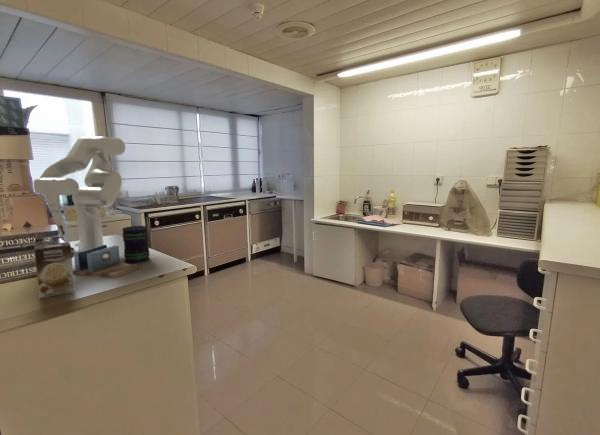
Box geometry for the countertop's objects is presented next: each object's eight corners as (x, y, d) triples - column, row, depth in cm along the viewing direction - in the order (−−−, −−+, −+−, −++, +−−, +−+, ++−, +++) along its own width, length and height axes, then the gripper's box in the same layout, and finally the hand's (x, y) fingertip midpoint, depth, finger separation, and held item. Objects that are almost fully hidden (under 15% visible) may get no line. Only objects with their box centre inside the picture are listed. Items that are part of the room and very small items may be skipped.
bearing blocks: (75, 270, 114) (73, 252, 112) (104, 261, 126) (102, 244, 125) (92, 272, 112) (91, 254, 111) (119, 262, 124) (118, 245, 123)
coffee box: (38, 299, 92) (32, 249, 90) (39, 292, 97) (32, 245, 94) (75, 291, 98) (70, 245, 96) (74, 286, 103) (69, 241, 100)
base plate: (70, 273, 115) (70, 269, 115) (97, 264, 126) (97, 260, 126) (114, 278, 111) (113, 274, 110) (137, 268, 122) (137, 264, 122)
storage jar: (154, 259, 135) (152, 227, 132) (133, 265, 126) (131, 231, 124) (140, 256, 139) (138, 225, 137) (119, 261, 131) (117, 228, 128)
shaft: (58, 260, 120) (56, 248, 119) (70, 256, 125) (68, 245, 124) (103, 264, 115) (102, 252, 114) (113, 261, 120) (112, 249, 119)
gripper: (24, 209, 118) (29, 253, 121) (54, 211, 115) (59, 256, 118) (44, 207, 125) (48, 249, 128) (72, 208, 122) (77, 251, 125)
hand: (53, 252), depth 123 cm, fingers closed
